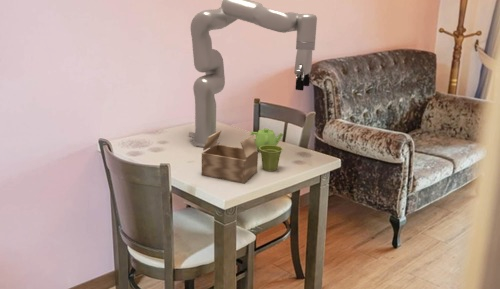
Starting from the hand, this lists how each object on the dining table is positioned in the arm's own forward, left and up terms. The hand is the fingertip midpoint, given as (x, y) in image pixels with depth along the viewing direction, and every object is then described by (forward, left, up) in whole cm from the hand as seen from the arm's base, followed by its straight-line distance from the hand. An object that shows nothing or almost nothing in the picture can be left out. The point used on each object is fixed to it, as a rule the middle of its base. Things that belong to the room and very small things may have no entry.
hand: (302, 87), depth 202 cm
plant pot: (-7, -16, -31) cm, 36 cm away
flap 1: (-26, -30, -19) cm, 44 cm away
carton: (-19, -30, -31) cm, 47 cm away
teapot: (-17, +6, -31) cm, 36 cm away
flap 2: (-11, -29, -19) cm, 37 cm away
